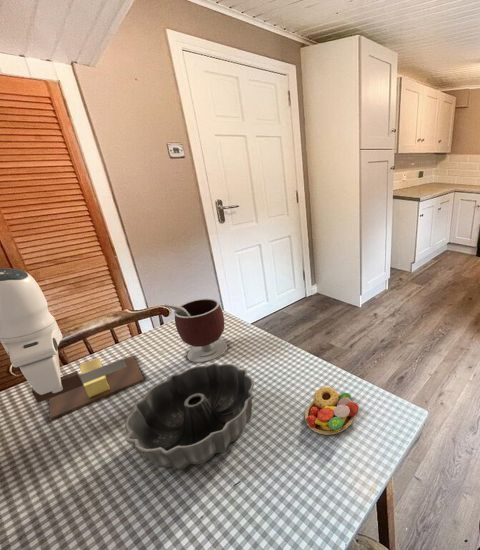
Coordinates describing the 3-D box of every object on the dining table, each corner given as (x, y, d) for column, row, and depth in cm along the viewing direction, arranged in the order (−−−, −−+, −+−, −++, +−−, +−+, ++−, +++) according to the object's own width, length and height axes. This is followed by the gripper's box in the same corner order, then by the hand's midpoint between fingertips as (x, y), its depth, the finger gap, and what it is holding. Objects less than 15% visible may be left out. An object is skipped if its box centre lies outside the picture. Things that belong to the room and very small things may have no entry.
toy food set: (321, 391, 86) (321, 382, 85) (364, 403, 82) (364, 394, 80) (295, 428, 75) (294, 418, 73) (344, 445, 70) (343, 435, 69)
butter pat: (89, 397, 83) (83, 386, 81) (88, 394, 84) (83, 383, 82) (109, 389, 86) (105, 378, 84) (108, 386, 87) (104, 375, 85)
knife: (37, 403, 70) (31, 391, 69) (37, 398, 72) (31, 387, 70) (126, 368, 82) (122, 357, 80) (125, 365, 83) (121, 354, 82)
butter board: (51, 421, 77) (43, 406, 75) (49, 389, 87) (42, 375, 86) (144, 381, 90) (139, 367, 88) (133, 358, 101) (128, 345, 99)
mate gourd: (229, 336, 112) (219, 287, 105) (230, 357, 100) (218, 304, 93) (182, 346, 106) (167, 295, 99) (176, 370, 95) (160, 314, 87)
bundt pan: (205, 503, 59) (194, 467, 55) (107, 465, 66) (91, 432, 62) (279, 403, 82) (275, 373, 78) (201, 383, 89) (194, 355, 86)
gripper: (15, 326, 73) (39, 373, 78) (9, 365, 59) (39, 418, 64) (51, 317, 77) (72, 361, 82) (54, 351, 63) (78, 401, 69)
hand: (57, 386), depth 73 cm, fingers closed on knife, 2 cm apart
